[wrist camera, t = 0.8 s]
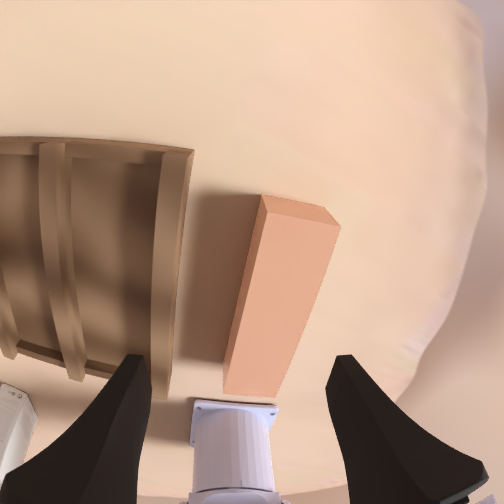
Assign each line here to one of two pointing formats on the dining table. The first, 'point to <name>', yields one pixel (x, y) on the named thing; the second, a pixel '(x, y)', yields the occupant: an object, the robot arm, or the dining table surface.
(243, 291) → the clay strip
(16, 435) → the skincare box
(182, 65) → the dining table surface
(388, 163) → the dining table surface
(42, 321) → the rack
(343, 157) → the dining table surface
